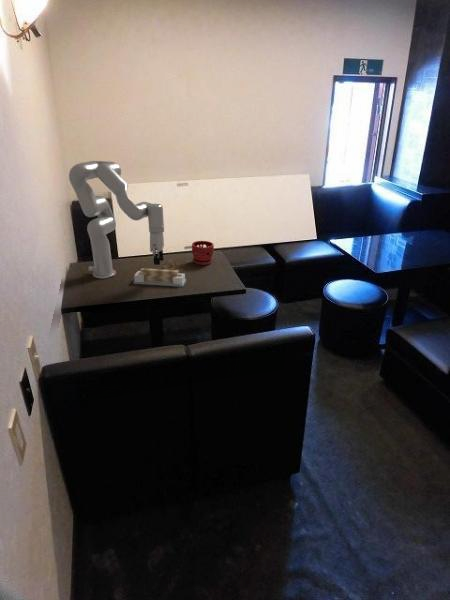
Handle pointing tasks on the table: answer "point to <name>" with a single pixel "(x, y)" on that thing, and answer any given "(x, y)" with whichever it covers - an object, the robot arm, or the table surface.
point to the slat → (159, 274)
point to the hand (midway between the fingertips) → (158, 262)
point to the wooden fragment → (172, 265)
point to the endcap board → (176, 281)
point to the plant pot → (202, 252)
